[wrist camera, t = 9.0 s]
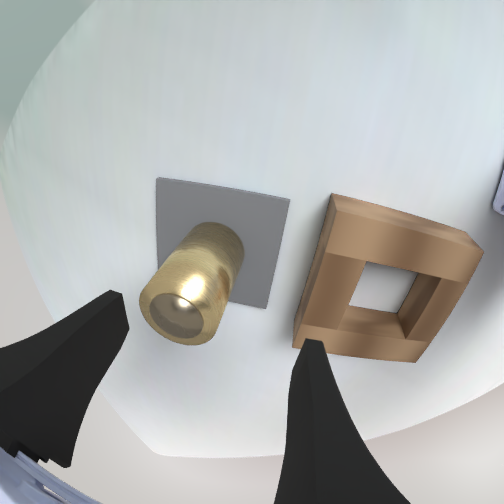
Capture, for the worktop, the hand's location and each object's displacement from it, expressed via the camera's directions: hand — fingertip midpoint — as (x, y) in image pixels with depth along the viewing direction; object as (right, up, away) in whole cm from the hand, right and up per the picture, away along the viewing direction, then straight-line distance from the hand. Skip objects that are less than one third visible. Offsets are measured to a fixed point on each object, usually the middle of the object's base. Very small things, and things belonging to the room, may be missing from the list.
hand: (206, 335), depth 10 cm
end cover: (-1, +3, +10) cm, 10 cm away
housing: (+11, +1, +9) cm, 15 cm away
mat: (-1, +4, +10) cm, 11 cm away
